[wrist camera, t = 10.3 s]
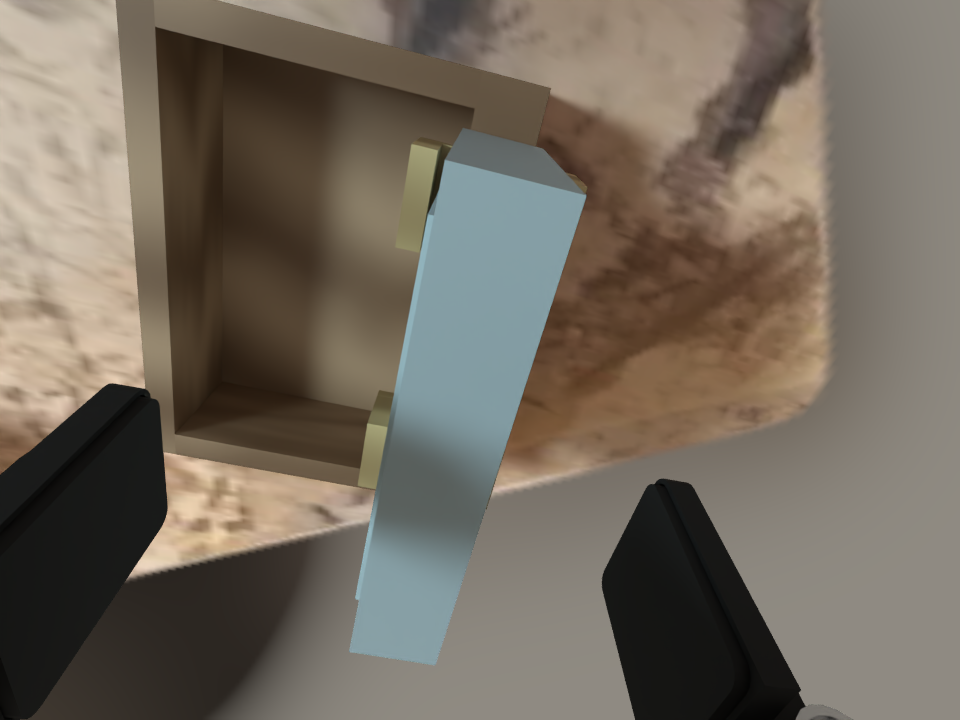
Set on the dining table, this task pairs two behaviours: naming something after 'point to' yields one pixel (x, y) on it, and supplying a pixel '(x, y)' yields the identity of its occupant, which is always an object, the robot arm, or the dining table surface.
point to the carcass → (286, 223)
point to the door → (460, 382)
